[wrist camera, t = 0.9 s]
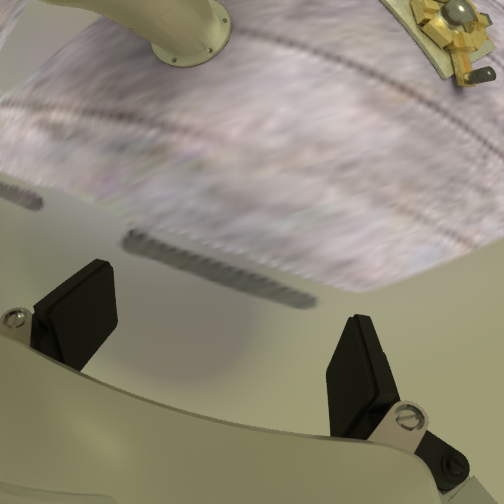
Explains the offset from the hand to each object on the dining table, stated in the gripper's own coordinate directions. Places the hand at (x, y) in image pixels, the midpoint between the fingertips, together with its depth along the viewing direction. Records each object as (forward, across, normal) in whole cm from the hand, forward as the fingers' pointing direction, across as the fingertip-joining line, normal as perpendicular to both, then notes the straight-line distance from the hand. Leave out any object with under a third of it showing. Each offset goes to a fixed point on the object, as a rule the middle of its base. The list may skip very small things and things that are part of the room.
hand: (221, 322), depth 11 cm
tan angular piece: (+31, -23, -32) cm, 50 cm away
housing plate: (+33, -22, -35) cm, 53 cm away
